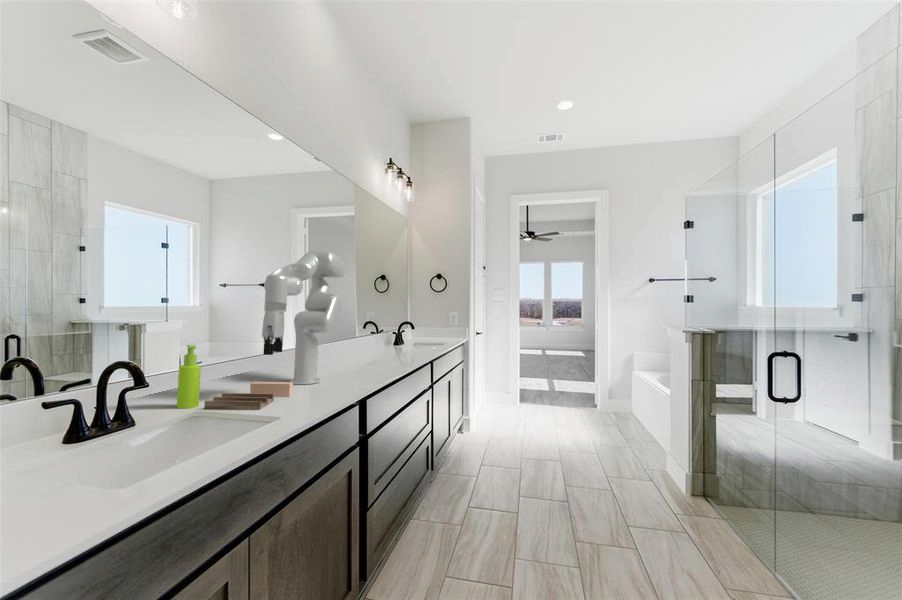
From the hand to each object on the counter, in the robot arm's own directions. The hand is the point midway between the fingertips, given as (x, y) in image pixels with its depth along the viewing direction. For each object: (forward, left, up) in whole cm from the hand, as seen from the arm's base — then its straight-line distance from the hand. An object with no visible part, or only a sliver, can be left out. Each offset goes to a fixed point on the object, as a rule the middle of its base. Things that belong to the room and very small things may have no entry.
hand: (273, 353), depth 143 cm
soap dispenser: (+17, -20, -16) cm, 31 cm away
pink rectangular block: (0, 0, -16) cm, 16 cm away
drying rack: (+14, -5, -16) cm, 22 cm away
